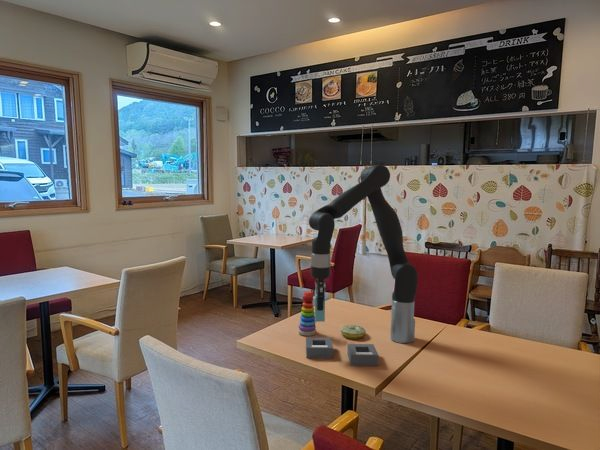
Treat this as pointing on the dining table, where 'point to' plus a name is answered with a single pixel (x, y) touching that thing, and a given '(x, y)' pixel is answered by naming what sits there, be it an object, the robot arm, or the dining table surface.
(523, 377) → the dining table surface
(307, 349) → the far socket block
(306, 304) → the stacking toy
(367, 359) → the near socket block
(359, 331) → the decorated donut
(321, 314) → the plug
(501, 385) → the dining table surface
